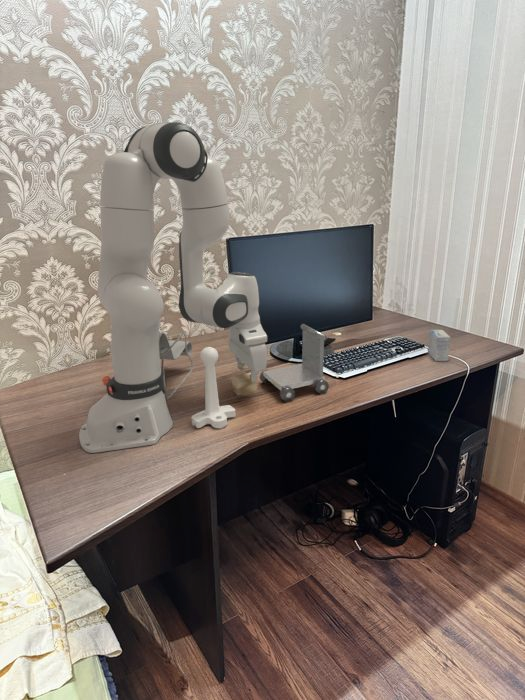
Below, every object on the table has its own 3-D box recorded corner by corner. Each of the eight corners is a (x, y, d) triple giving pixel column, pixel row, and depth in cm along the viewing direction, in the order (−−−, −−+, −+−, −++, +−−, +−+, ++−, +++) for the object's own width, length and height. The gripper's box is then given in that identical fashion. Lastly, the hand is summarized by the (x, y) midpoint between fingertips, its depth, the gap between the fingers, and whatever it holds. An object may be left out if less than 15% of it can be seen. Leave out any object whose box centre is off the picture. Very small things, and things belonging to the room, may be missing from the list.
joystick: (227, 410, 124) (224, 340, 117) (242, 422, 118) (239, 349, 111) (189, 422, 119) (183, 349, 112) (202, 435, 113) (197, 358, 106)
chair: (121, 399, 132) (112, 334, 125) (156, 366, 155) (150, 309, 148) (166, 403, 129) (159, 336, 122) (194, 368, 152) (190, 311, 145)
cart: (282, 403, 128) (282, 344, 122) (259, 383, 140) (258, 329, 134) (328, 392, 134) (330, 336, 127) (302, 374, 146) (303, 322, 140)
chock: (237, 395, 133) (237, 381, 131) (232, 390, 136) (232, 376, 135) (256, 391, 135) (256, 377, 134) (251, 386, 139) (250, 372, 137)
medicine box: (448, 361, 154) (451, 336, 151) (434, 361, 154) (437, 337, 151) (440, 353, 162) (443, 329, 159) (427, 353, 162) (429, 329, 159)
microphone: (330, 347, 178) (299, 355, 163) (327, 332, 178) (296, 339, 163) (342, 345, 174) (311, 354, 160) (339, 330, 174) (309, 337, 159)
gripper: (221, 321, 137) (224, 364, 142) (248, 342, 120) (250, 390, 125) (241, 317, 139) (243, 360, 144) (270, 337, 122) (271, 385, 127)
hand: (247, 374), depth 134 cm, fingers open, 8 cm apart
